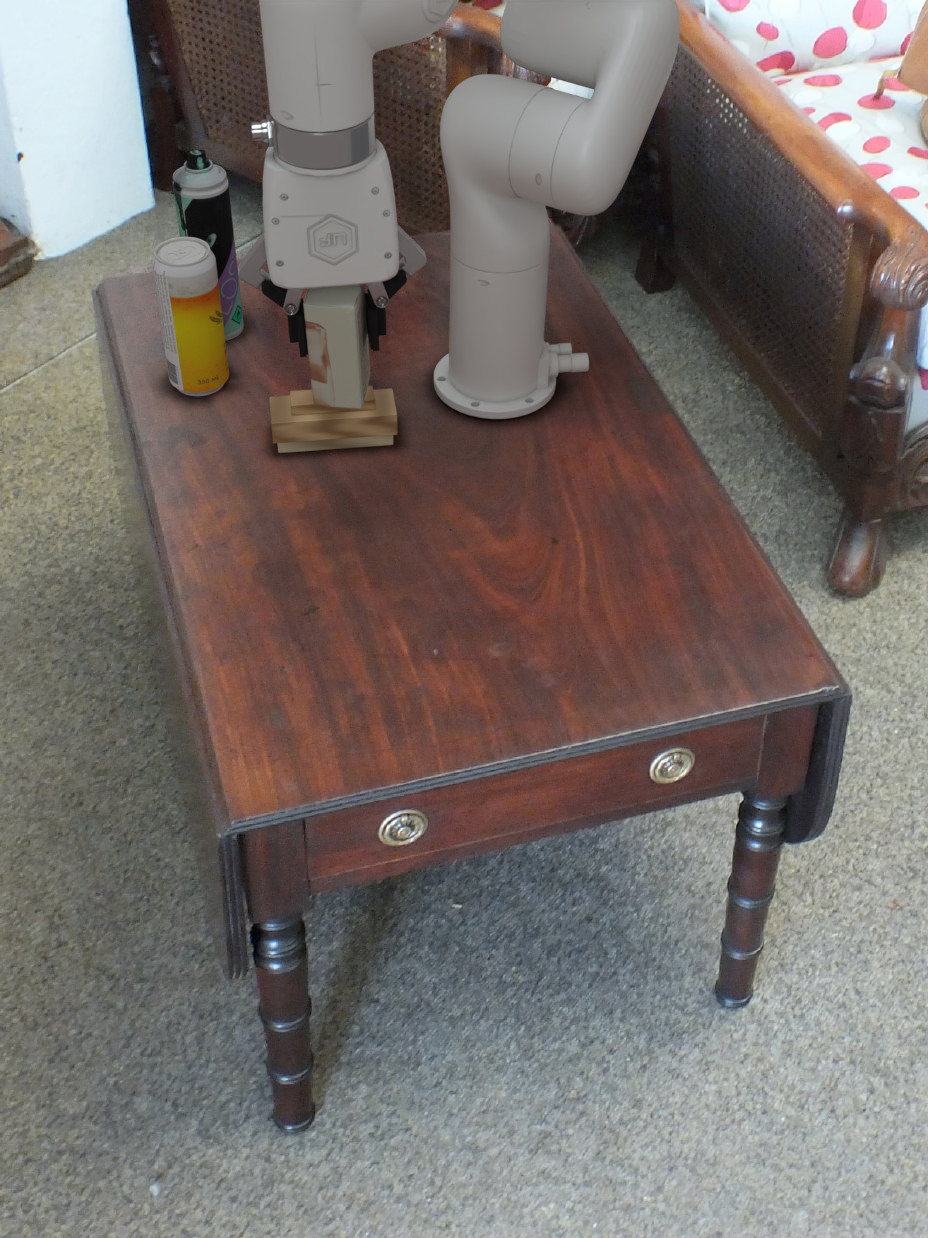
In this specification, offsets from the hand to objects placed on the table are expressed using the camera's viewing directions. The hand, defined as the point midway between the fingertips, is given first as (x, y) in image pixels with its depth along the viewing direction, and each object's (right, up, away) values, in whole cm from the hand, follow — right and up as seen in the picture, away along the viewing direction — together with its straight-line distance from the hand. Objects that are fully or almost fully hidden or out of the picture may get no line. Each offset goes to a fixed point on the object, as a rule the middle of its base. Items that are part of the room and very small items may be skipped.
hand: (338, 342), depth 113 cm
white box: (0, -4, +4) cm, 5 cm away
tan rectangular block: (-2, -5, +22) cm, 23 cm away
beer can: (-17, +2, +29) cm, 33 cm away
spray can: (-16, +9, +36) cm, 40 cm away
